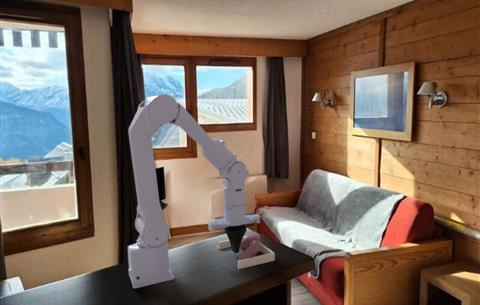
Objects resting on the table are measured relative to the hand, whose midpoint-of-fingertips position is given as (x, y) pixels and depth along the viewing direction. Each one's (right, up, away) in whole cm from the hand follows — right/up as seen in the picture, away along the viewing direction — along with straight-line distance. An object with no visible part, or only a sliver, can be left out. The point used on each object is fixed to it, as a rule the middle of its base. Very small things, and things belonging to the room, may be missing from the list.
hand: (235, 251), depth 94 cm
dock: (+2, -1, +1) cm, 3 cm away
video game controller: (+4, -1, +1) cm, 4 cm away
